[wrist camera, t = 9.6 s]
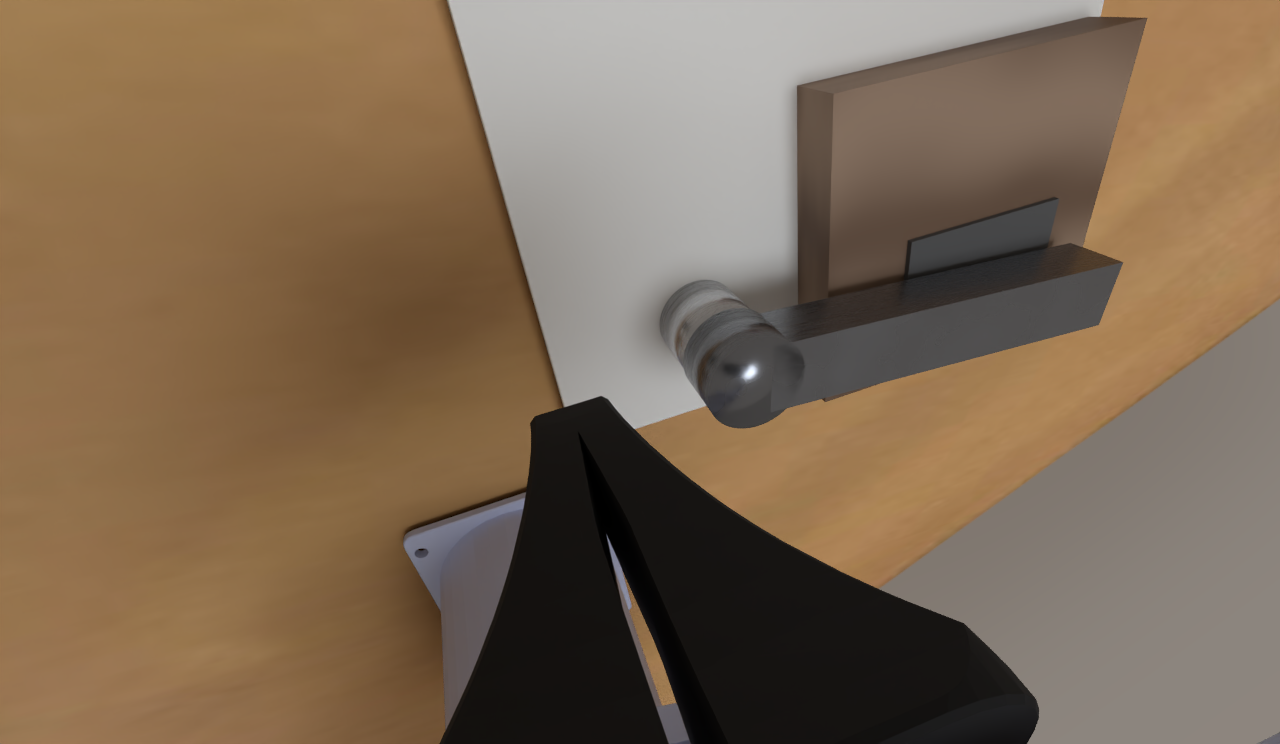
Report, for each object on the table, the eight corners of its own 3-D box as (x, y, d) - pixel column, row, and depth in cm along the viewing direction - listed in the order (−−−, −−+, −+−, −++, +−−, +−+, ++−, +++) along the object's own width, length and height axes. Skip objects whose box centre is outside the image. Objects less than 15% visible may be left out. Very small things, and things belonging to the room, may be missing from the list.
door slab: (1021, 302, 26) (1061, 322, 25) (798, 375, 25) (825, 401, 23) (1088, 16, 20) (1147, 18, 19) (796, 85, 18) (833, 93, 17)
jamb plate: (1013, 290, 27) (1031, 299, 26) (571, 432, 24) (576, 448, 23) (1160, -373, 16) (1199, -392, 15) (363, -289, 13) (359, -309, 12)
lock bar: (684, 403, 20) (708, 439, 18) (681, 319, 18) (706, 350, 17) (1047, 311, 23) (1094, 334, 22) (1074, 232, 22) (1127, 250, 20)
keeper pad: (1032, 287, 23) (1036, 289, 23) (898, 331, 22) (901, 333, 22) (1054, 197, 21) (1059, 198, 21) (907, 240, 20) (911, 242, 20)
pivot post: (738, 341, 23) (766, 370, 21) (665, 364, 22) (686, 395, 20) (734, 270, 21) (763, 294, 19) (654, 293, 21) (676, 320, 19)
